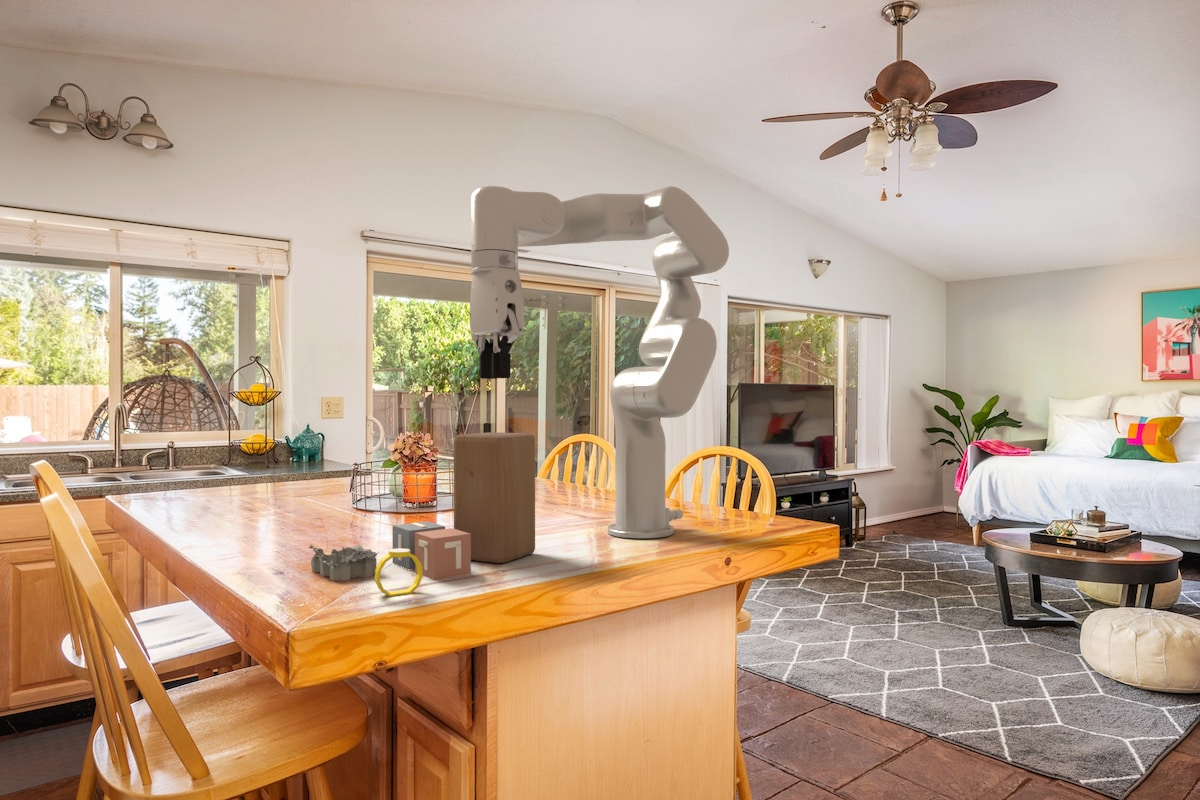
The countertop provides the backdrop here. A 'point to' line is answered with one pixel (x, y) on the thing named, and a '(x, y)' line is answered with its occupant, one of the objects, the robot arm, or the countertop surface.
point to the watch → (398, 553)
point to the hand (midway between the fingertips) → (494, 377)
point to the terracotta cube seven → (443, 553)
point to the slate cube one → (409, 540)
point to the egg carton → (344, 562)
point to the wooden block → (495, 494)
